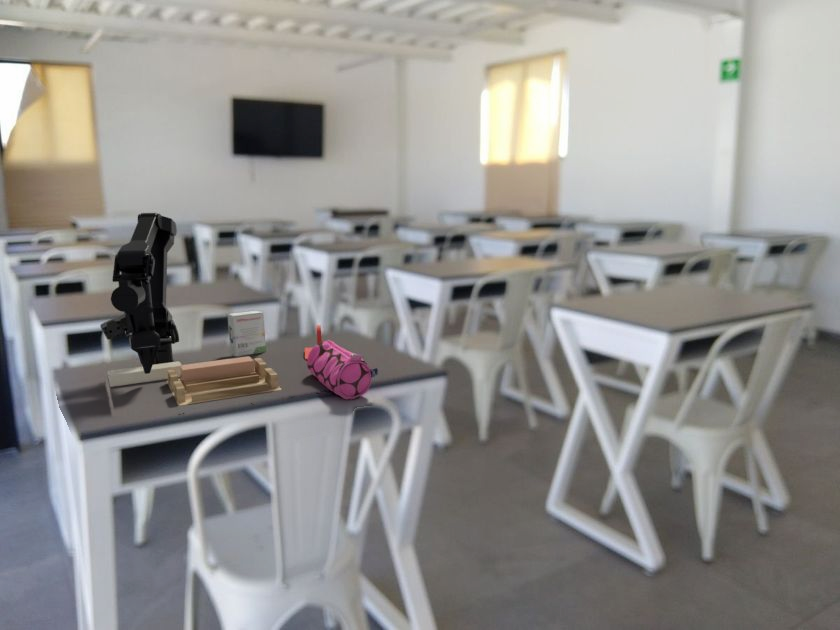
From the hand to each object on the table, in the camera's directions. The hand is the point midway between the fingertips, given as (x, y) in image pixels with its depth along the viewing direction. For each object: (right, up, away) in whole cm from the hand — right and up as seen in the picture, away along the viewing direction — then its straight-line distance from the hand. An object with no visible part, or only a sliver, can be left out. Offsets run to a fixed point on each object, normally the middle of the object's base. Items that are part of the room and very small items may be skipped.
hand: (145, 368), depth 165 cm
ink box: (+18, +1, +24) cm, 30 cm away
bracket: (+36, +1, +22) cm, 42 cm away
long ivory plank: (0, -4, +1) cm, 4 cm away
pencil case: (+46, -4, -5) cm, 47 cm away
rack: (+20, -4, -5) cm, 21 cm away
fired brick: (+17, -2, -1) cm, 18 cm away
